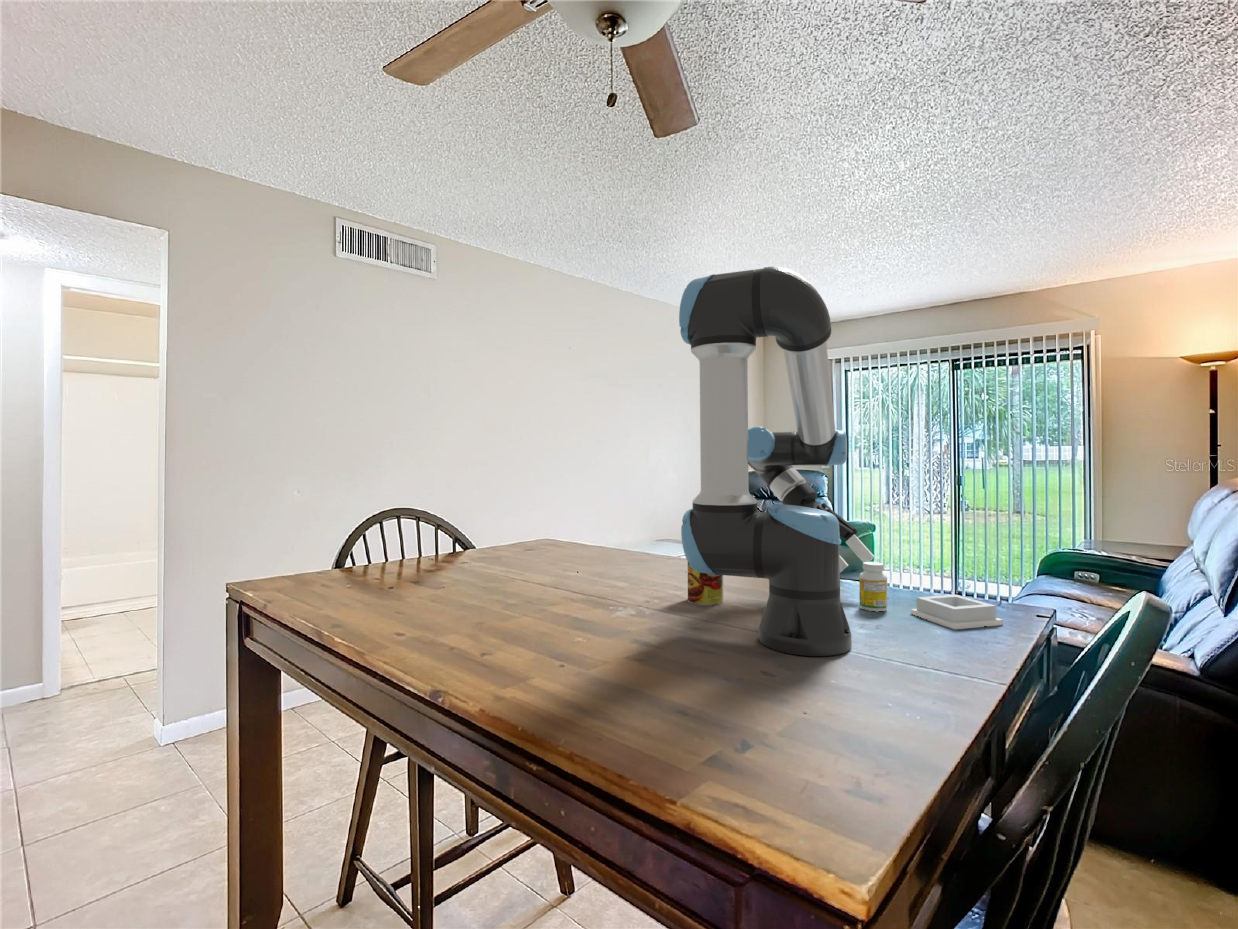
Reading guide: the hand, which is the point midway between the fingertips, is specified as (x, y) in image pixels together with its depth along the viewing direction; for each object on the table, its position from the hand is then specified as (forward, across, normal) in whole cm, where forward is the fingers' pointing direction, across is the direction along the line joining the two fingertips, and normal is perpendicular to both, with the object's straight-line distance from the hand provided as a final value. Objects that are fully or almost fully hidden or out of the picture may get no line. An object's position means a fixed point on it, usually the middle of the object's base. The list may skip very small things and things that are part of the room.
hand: (857, 565), depth 126 cm
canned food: (-12, +20, -24) cm, 34 cm away
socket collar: (+19, -1, +7) cm, 20 cm away
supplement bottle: (+9, +2, -3) cm, 10 cm away
